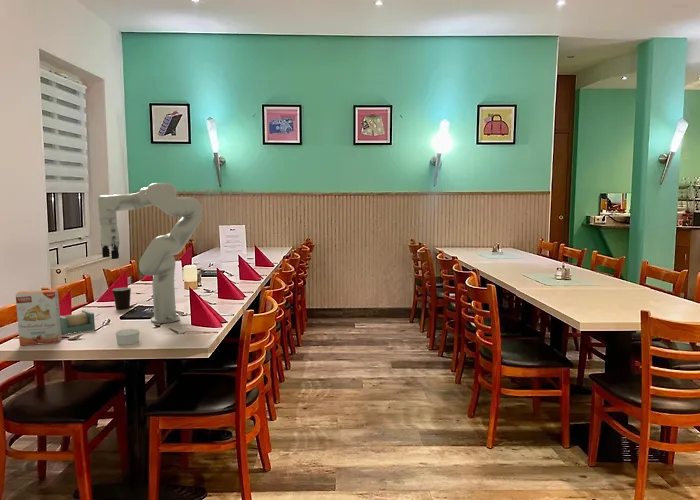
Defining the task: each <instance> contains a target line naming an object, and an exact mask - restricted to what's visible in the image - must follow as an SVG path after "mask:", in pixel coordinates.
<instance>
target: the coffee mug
mask: <svg viewBox="0 0 700 500" xmlns="http://www.w3.org/2000/svg"><path fill="white" fill-rule="evenodd" d="M131 292H132V287H116V288H113V289H112V295H113V298H114V299H113V300H114V304H115V310H117V311H122V310H123V311H125V310H129V309H130V307H131V306H130V305H131Z"/></svg>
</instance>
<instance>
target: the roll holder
mask: <svg viewBox="0 0 700 500" xmlns="http://www.w3.org/2000/svg"><path fill="white" fill-rule="evenodd" d="M83 312H84V313H86V315H87V320H88V323H87V324H85V325H80V326H75V327H69V328H68V327H67V318H66V317H64V315H60V323H61V332H62V333H64V334H67V335H69V334H68V333H72V334H75V333H74V332H77V333H81V332H80V331H82V332H86V331H90V330H91V331H92V330H95V329H96V324H95V313H94V312H92V311H89V310H86V309H83V310H81V313H83ZM62 333H61V334H62ZM64 334H63V335H64Z"/></svg>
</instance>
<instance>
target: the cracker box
mask: <svg viewBox="0 0 700 500" xmlns="http://www.w3.org/2000/svg"><path fill="white" fill-rule="evenodd" d="M15 303H16V304H15V305H16V316H17V328H18V339H19V341H18V342H19V346H20V345H21V346H28V345H27V344H33V345H39V344H38V343H45V344H54V343H53V342H58V343H59V342H60V341H61V340H62V333H61V323H60V316H61V313H60V312H61V311H60V299H59V289H45V290H44V289H43V290H42V289H41V290H39V289H38V290H25V291H24V290H23V291H18V292H17V293H15Z"/></svg>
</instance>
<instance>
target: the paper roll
mask: <svg viewBox="0 0 700 500" xmlns="http://www.w3.org/2000/svg"><path fill="white" fill-rule="evenodd" d="M63 317H66V318H67V327H68V328H69V327H75V326H80V325H85V324H87V323H88V320H87V315H86V313H84V312H83V313H82V312H78V313H77V312H76V313H74V314H67V315H63Z"/></svg>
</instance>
